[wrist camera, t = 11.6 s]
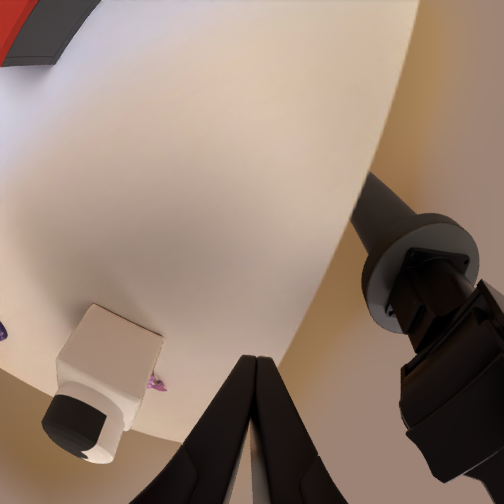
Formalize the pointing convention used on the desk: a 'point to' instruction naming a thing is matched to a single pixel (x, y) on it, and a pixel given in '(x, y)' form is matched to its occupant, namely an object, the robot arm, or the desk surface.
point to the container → (100, 384)
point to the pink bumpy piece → (157, 387)
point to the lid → (12, 21)
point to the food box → (48, 31)
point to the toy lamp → (2, 332)
